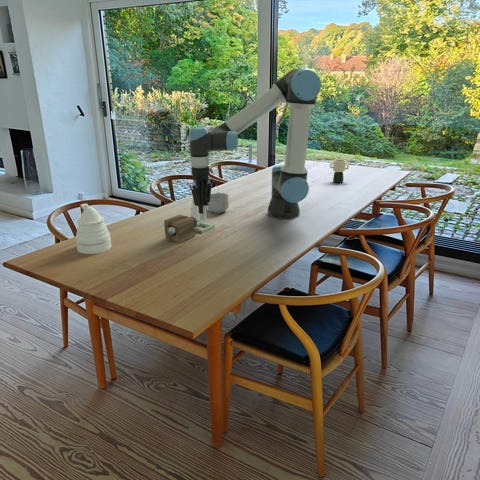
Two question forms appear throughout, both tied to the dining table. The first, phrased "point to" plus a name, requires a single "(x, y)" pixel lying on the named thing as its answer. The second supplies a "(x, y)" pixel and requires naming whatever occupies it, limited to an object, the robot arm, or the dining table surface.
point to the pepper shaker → (195, 211)
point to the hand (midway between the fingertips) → (203, 219)
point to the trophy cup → (338, 169)
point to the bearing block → (180, 228)
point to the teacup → (218, 202)
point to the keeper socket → (204, 228)
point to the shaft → (173, 230)
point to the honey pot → (92, 232)
